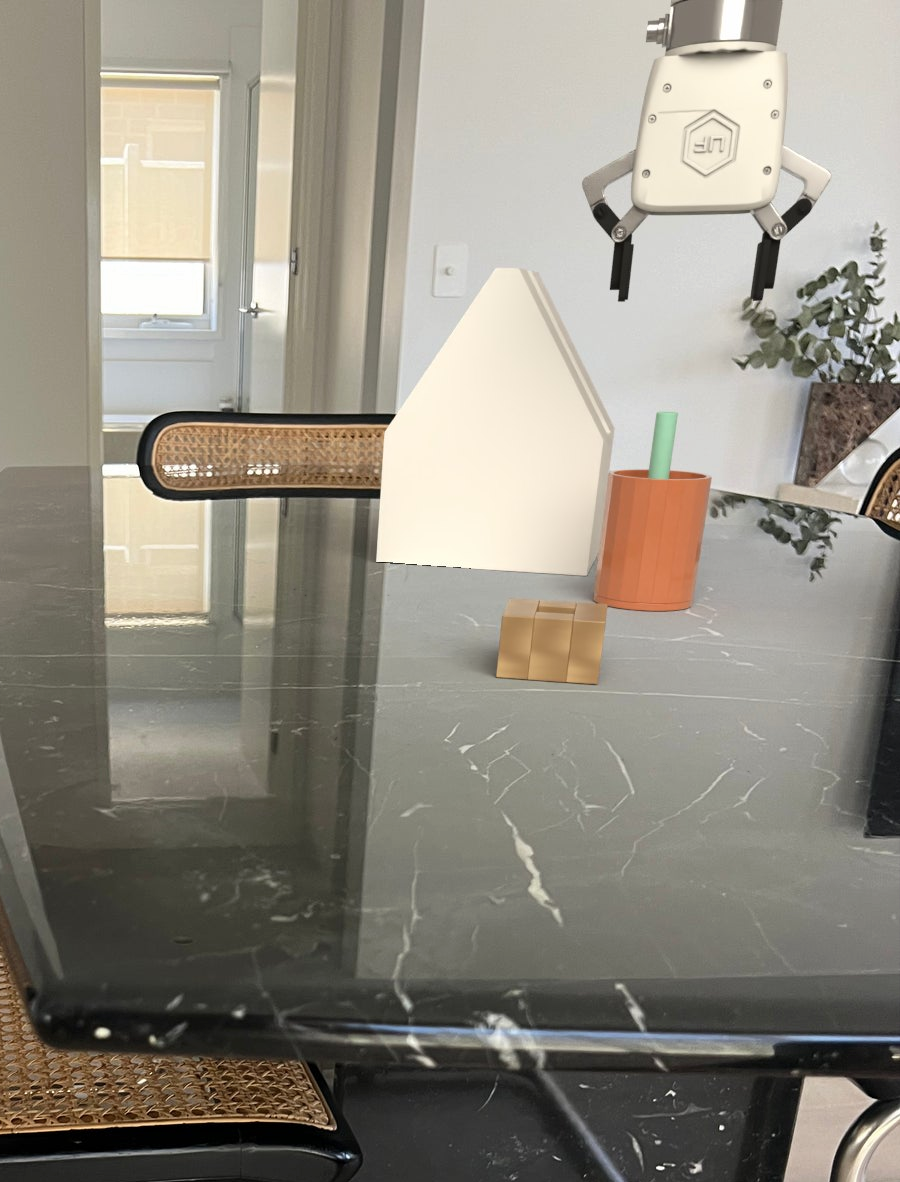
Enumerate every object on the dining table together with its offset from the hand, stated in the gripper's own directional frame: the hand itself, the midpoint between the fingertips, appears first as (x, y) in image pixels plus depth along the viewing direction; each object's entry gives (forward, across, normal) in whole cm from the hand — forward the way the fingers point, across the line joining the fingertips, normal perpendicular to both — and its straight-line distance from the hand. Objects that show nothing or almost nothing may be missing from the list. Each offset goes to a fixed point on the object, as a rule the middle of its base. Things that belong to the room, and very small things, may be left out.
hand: (688, 300), depth 110 cm
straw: (+22, -1, 0) cm, 22 cm away
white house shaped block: (+22, -15, +20) cm, 34 cm away
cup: (+22, -1, 0) cm, 23 cm away
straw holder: (+23, -7, -28) cm, 36 cm away
